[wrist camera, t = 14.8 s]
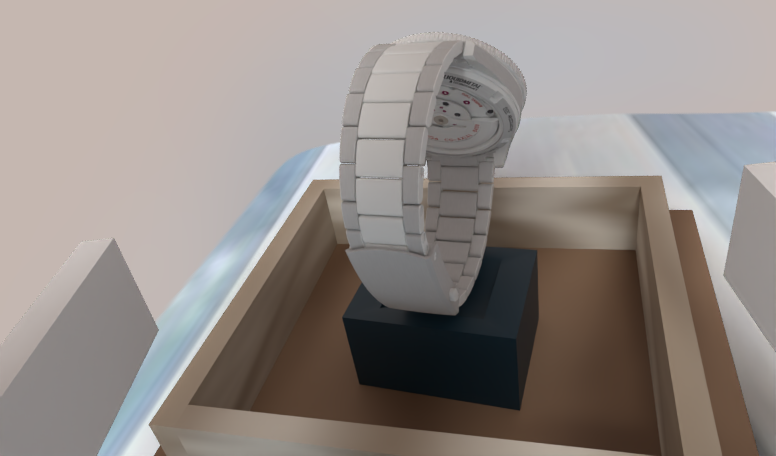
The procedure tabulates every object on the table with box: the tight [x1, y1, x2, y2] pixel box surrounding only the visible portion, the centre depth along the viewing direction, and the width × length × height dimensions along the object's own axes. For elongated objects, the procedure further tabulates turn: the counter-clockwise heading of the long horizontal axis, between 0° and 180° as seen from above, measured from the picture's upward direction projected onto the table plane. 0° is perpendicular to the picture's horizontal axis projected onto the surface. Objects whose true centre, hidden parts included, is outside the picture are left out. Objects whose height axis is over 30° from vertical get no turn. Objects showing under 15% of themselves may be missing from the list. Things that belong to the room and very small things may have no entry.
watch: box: [339, 32, 539, 411], centre depth 19 cm, size 6×8×11 cm
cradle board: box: [149, 176, 759, 456], centre depth 22 cm, size 18×18×4 cm
